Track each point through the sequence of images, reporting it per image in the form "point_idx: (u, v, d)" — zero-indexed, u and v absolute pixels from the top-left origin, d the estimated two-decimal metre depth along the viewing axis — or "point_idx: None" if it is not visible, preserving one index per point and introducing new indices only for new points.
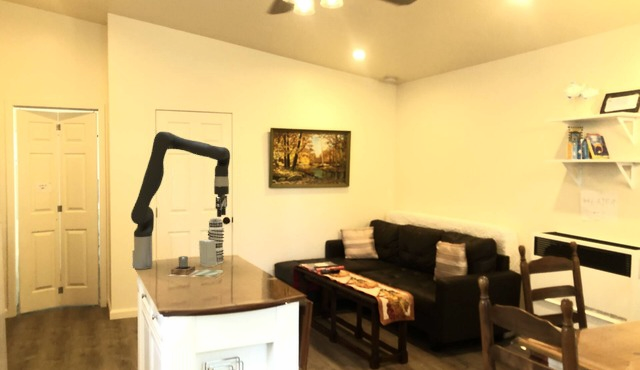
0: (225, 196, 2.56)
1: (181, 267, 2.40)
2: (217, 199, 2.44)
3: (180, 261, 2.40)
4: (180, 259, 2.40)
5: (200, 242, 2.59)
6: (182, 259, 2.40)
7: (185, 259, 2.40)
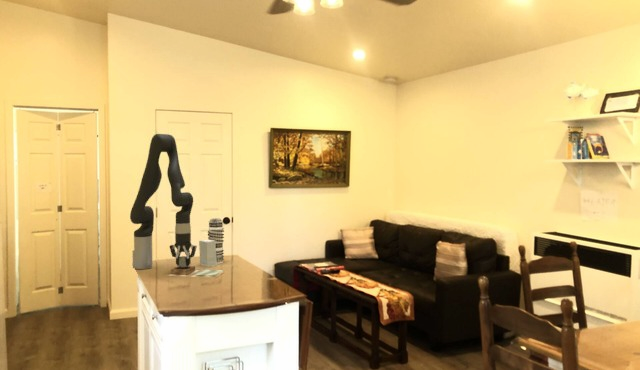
0: None
1: (181, 267, 2.40)
2: (195, 248, 2.41)
3: (180, 261, 2.40)
4: (180, 259, 2.40)
5: (200, 242, 2.59)
6: (182, 259, 2.40)
7: (185, 259, 2.40)
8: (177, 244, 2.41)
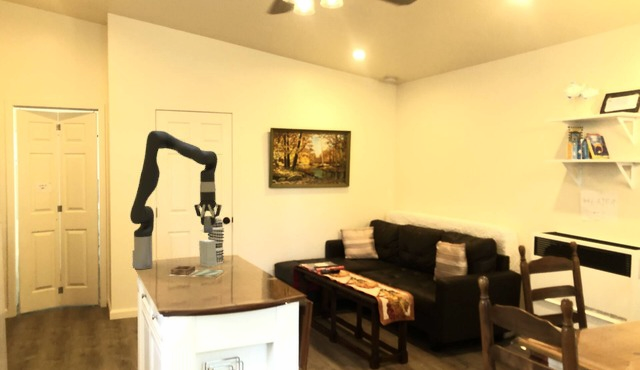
0: None
1: (206, 226, 2.37)
2: (220, 207, 2.38)
3: (205, 220, 2.37)
4: (205, 218, 2.37)
5: (200, 242, 2.59)
6: (207, 218, 2.37)
7: (210, 218, 2.38)
8: (202, 203, 2.38)
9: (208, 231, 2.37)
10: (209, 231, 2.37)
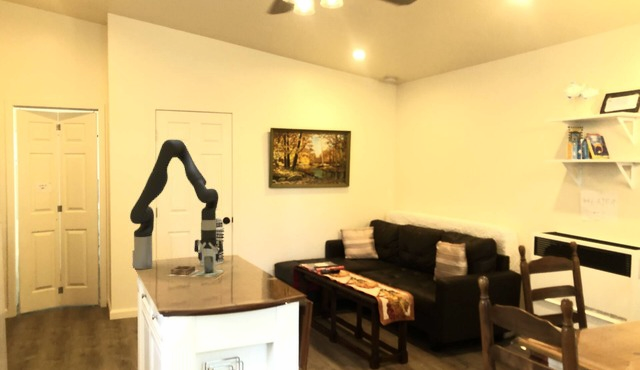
0: None
1: (207, 267, 2.38)
2: (221, 242, 2.39)
3: (206, 261, 2.38)
4: (206, 259, 2.38)
5: None
6: (208, 259, 2.38)
7: (211, 259, 2.39)
8: (203, 241, 2.39)
9: (209, 271, 2.38)
10: (210, 271, 2.38)
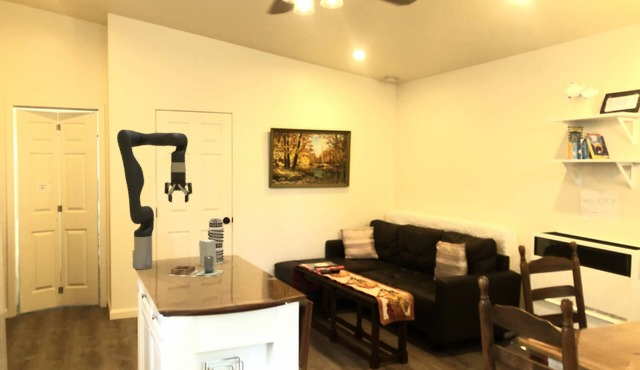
0: (168, 183, 2.51)
1: (207, 267, 2.38)
2: (190, 184, 2.48)
3: (206, 261, 2.38)
4: (206, 259, 2.38)
5: (200, 242, 2.59)
6: (208, 259, 2.38)
7: (211, 259, 2.39)
8: (173, 183, 2.49)
9: (209, 271, 2.38)
10: (210, 271, 2.38)
